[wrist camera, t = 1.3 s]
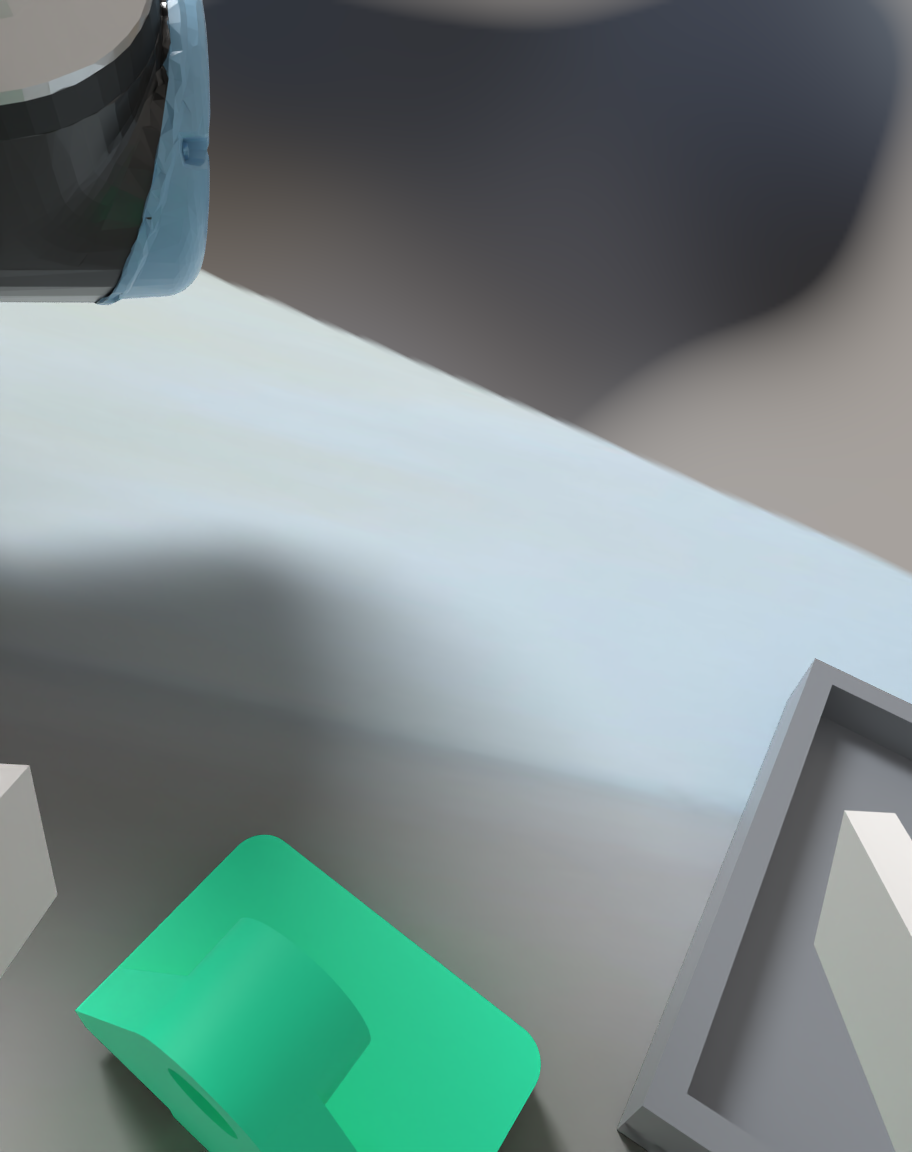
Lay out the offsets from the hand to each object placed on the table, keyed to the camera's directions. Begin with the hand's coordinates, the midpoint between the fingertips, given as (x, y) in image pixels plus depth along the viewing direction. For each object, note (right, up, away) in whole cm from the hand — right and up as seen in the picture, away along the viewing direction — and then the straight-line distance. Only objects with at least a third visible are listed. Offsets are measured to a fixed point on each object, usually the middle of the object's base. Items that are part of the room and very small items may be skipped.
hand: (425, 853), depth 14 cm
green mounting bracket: (-4, -11, +14) cm, 18 cm away
